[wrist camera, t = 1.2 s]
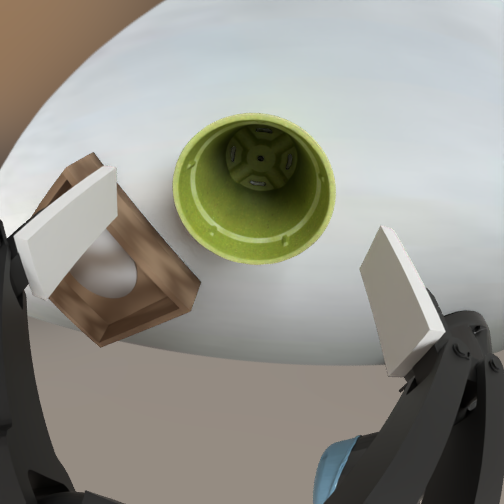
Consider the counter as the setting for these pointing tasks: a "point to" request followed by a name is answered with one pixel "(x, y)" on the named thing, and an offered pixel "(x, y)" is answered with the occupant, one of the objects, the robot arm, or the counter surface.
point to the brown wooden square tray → (121, 271)
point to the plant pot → (254, 189)
